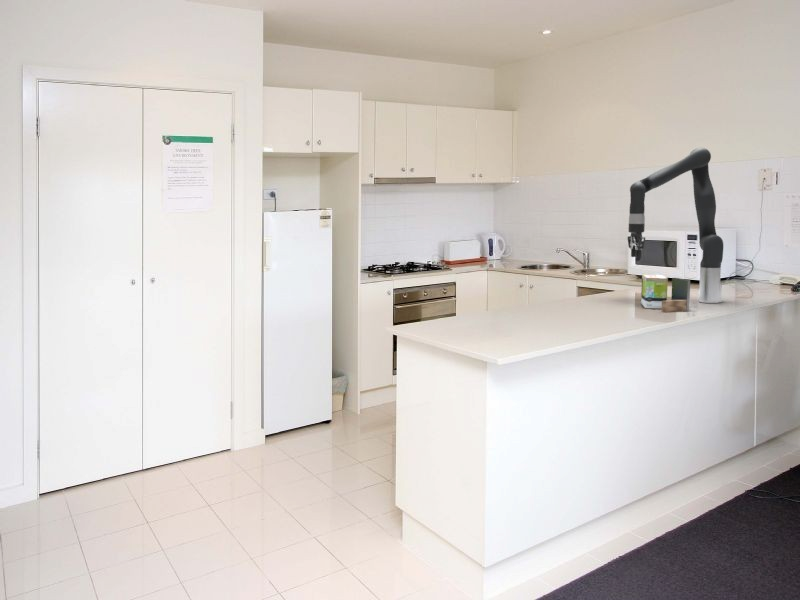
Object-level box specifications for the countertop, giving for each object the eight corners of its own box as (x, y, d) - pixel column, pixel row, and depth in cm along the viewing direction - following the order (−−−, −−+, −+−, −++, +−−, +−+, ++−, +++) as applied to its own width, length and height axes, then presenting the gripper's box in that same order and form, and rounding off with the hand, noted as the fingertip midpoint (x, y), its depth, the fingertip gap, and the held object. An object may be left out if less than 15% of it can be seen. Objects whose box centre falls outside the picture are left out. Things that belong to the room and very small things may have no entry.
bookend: (673, 306, 331) (674, 277, 329) (689, 310, 318) (690, 280, 316) (671, 307, 331) (672, 277, 329) (686, 311, 318) (687, 280, 316)
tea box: (667, 308, 326) (668, 277, 324) (644, 308, 328) (645, 277, 326) (662, 304, 340) (663, 274, 338) (640, 304, 342) (641, 274, 340)
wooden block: (685, 310, 320) (686, 299, 319) (687, 311, 318) (687, 300, 317) (661, 311, 318) (661, 300, 317) (663, 312, 316) (663, 301, 316)
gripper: (651, 223, 340) (650, 258, 343) (636, 222, 354) (635, 255, 356) (636, 223, 339) (635, 258, 341) (622, 222, 353) (621, 256, 355)
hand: (635, 257), depth 349 cm, fingers open, 4 cm apart
